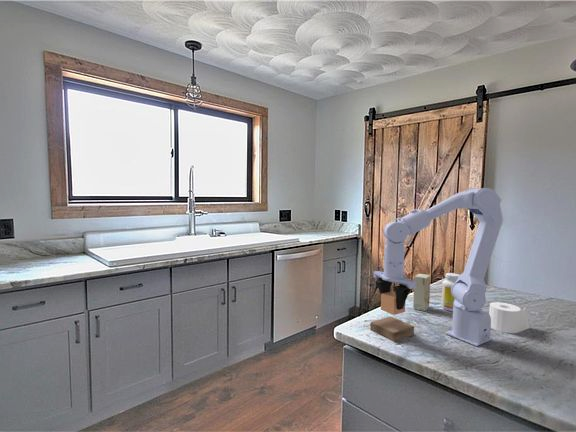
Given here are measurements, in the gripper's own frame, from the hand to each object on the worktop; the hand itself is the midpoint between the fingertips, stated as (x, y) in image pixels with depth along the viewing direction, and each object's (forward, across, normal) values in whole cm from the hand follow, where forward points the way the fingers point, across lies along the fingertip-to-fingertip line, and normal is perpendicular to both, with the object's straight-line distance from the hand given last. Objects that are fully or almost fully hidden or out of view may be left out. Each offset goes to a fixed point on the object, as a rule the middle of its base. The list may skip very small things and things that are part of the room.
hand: (392, 305), depth 99 cm
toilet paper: (+8, +17, +35) cm, 40 cm away
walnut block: (+9, 0, 0) cm, 9 cm away
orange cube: (+2, 0, 0) cm, 2 cm away
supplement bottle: (+8, -3, +35) cm, 36 cm away
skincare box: (+8, -9, +26) cm, 29 cm away
